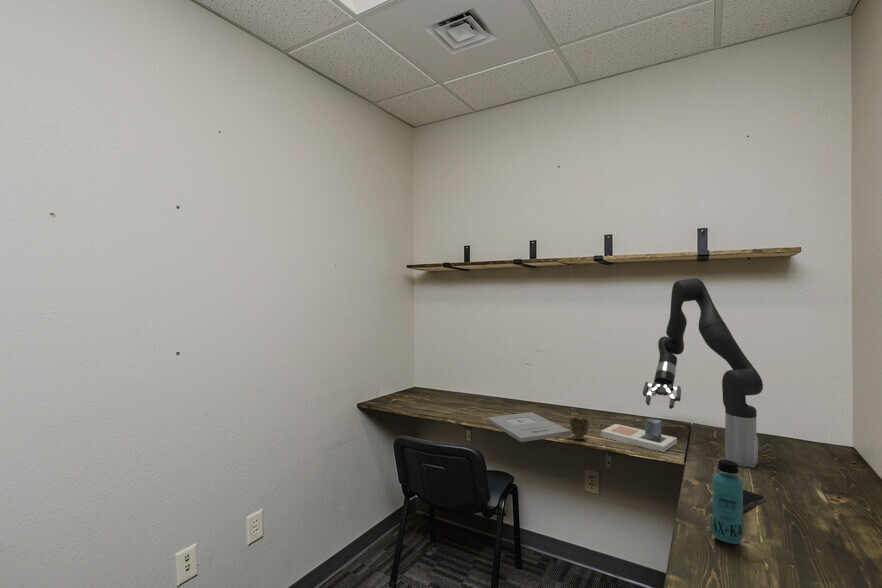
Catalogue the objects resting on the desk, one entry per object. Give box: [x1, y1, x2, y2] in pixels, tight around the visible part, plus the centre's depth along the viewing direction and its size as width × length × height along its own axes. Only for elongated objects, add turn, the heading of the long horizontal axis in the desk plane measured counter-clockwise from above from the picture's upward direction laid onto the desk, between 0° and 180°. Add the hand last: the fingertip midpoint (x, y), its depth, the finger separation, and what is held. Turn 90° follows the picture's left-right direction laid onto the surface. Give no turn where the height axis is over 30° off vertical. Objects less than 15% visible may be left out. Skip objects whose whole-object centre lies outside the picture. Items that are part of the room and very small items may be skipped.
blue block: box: [644, 418, 662, 443], centre depth 173 cm, size 4×4×10 cm
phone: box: [743, 488, 766, 514], centre depth 126 cm, size 8×1×15 cm
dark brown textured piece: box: [569, 417, 590, 441], centre depth 179 cm, size 8×7×8 cm
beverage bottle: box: [710, 459, 744, 544], centre depth 106 cm, size 6×7×20 cm
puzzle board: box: [600, 423, 678, 453], centre depth 177 cm, size 25×14×3 cm, turn 43°
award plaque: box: [486, 411, 572, 443], centre depth 194 cm, size 25×30×2 cm
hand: (659, 406), depth 180 cm, fingers open, 8 cm apart
